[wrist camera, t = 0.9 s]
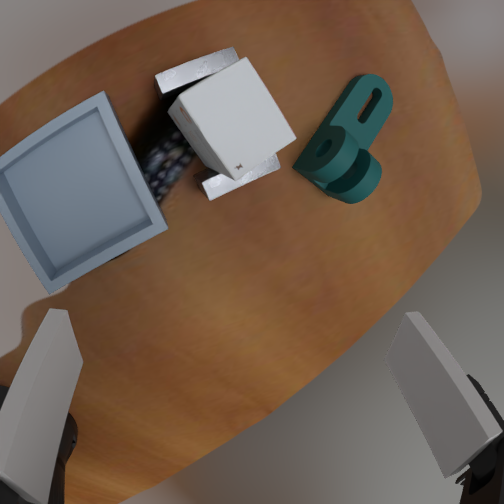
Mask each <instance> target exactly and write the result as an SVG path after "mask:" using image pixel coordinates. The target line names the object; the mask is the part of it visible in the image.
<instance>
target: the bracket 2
mask: <svg viewBox="0 0 504 504" xmlns="http://www.w3.org/2000/svg"><path fill="white" fill-rule="evenodd" d="M371 92H372V93H373V97H372V99H371V100H370V102H369V104H368V105H367V107H366V108H365V110H364V111H363V113H362V115H361V116H360V118H359V119H357V114H358V113H359V111H360V109H361V108H362V106H363V105H364V103H365V102H366V100H367V99H368V97H369V96H370V94H371ZM392 106H393V97H392V93H391V90H390V88H389V86H388V84H387V83H386V82H385V80H384V79H382V78H381V77H379V76H377V75H374V74H367V75H361V76H357V77H355V78H353V79H352V80H351V81H350V82H349V84H348V85H347V87H346V88H345V90H344V91H343V93H342V94H341V96H340V97H339V98H338V100H337V101H336V103H335V104H334V106H333V107H332V109H331V110H330V112H329V113H328V115H327V116H326V118H325V119H324V121H323V122H322V124H321V125H320V127H319V128H318V129H317V131H316V132H315V134H314V135H313V137H312V138H311V140H310V141H309V143H308V144H307V146H306V147H305V149H304V150H303V152H302V153H301V155H300V156H299V158H298V159H297V161H296V162H295V164H294V165H293V167H292V168H294V169H295V170H296V171H298V172H299V173H300V174H301V175H303V176H304V177H305V178H307V179H308V180H309V181H310V182H312V183H313V184H314V185H316V186H317V187H318V188H319V189H321V190H322V191H323V192H324V193H326V194H327V195H328V196H330V197H333V198H335V199H338V200H340V201H343V202H345V203H348V204H354V203H357V202H360V201H362V200H364V199H365V198H366V197H368V196H369V195H370V194H371V193H372V192H373V191H374V189H375V188H376V187H377V185H378V183H379V181H380V178H381V174H382V168H381V165H380V163H379V162H378V161H377V160H376V159H375V158H374V157H373V156H372V155H371V154H370V153H369V152H368V151H367V150H368V149H369V147H370V145H371V144H372V142H373V141H374V139H375V137H376V136H377V134H378V133H379V131H380V129H381V128H382V126H383V124H384V123H385V121H386V119H387V118H388V116H389V114H390V113H391V110H392Z"/></svg>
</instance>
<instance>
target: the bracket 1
mask: <svg viewBox="0 0 504 504" xmlns="http://www.w3.org/2000/svg"><path fill="white" fill-rule="evenodd" d="M238 60H239V59H238V57H237V54H236V52H235V49H234V47H230V48H227V49H224V50H221V51H218V52H215V53H212V54H209V55H206V56H203V57H200V58H198V59H195V60H192V61H190V62H187V63H184V64H182V65H179V66H177V67H174V68H172V69H169V70H167V71H164V72H162V73H160V74H157V75H155V79H154V87H155V89H156V92H157V94H158V96H159V98H160V101H161V100H163V99H165V98H167V97H170V96H172V95H174V94H177V93H179V92H181V91H184V90H186V89H189V88H190V87H192V86H194V85H195V84H197V83H199V82H200V81H202V80H204V79H206V78H207V77H209V76H211V75H213V74H214V73H216V72H218V71H220V70H221V69H223V68H225V67H227V66H229V65H231V64H233V63H234V62H236V61H238ZM279 168H281V166H280V164H279V161H278V158H277V155H276V153H275V154H273V155H272V156H270V157H269V158H267V159H266V160H264V161H263V162H261V163H260V164H259V165H257V166H256V167H255V168H253V169H252V170H250V171H249V172H248V173H246V174H245V175H244V176H242V177H241V178H240V179H238V180H237V181H234V180H232V179H231V178H229V177H227V176H225V175H223V174H221V173H219V172H217V171H215V170H213V169H211V168H207V169H205V170H203V171H201V172H199V173H197V174H195V175H194V178H195V180H196V182H197V184H198V187H199V189H200V191H201V192H202V193H203V194H204V195H205V196H206V197H207V198H208V199H209V200H212V199H215V198H217V197H219V196H221V195H223V194H225V193H227V192H229V191H231V190H233V189H236V188H238V187H240V186H242V185H244V184H246V183H248V182H251V181H253V180H255V179H257V178H259V177H262V176H264V175H266V174H268V173H270V172H273V171H275V170H277V169H279Z"/></svg>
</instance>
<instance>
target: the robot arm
mask: <svg viewBox="0 0 504 504" xmlns="http://www.w3.org/2000/svg"><path fill="white" fill-rule="evenodd" d="M384 361H385V363H386V364H387V366H388V368H389V370H390V372H391V374H392V375H393V377H394V379H395V381H396V383H397V385H398V387H399V388H400V390H401V392H402V394H403V396H404V398H405V399H406V401H407V403H408V405H409V407H410V409H411V411H412V413H413V415H414V417H415V419H416V421H417V422H418V424H419V427H420V428H421V430H422V432H423V434H424V436H425V438H426V440H427V442H428V444H429V446H430V448H431V450H432V453H433V455H434V457H435V459H436V461H437V463H438V465H439V467H440V469H441V471H442V473H443V476H444V478H447V477H449V476H451V475H454V474H456V473H458V472H459V471H461V470H462V469H463V468H464V467H465V466H466V465H468V464H469V466H470V468H469V469H468V470H467V471H465V472H464V473H463V474H462V475H461V476H460V477H458V478H457V480H456V482H455V483H456V484H458V483H459V482H460V481H462V480H463V479H464V478H465V480H464V481H463V482H462V483H461V484H460V485H463V486H464V487H463V492H462V496H461V500H460V504H504V420H503V419H502V417H501V416H500V414H499V413H498V411H497V410H496V408H495V406H494V405H493V403H492V402H491V401H489V398H488V396H487V394H485V393H484V392H485V391H484V390H483V389H482V387H481V386H480V384H479V383H478V382H477V381H476V380H475V379H474V378H473V377H471V376H470V375H469V374H468V375H466V374H465V373H464V371H463V370H462V369H461V367H460V366H459V364H458V363H457V362H456V360H455V359H454V357H453V356H452V355H451V353H450V352H449V351H448V349H447V348H446V346H445V345H444V344H443V342H442V341H441V340H440V338H439V337H438V336H437V334H436V333H435V332H434V330H433V329H432V328H431V327H430V325H429V324H428V323H427V321H426V320H425V319H424V318H423V316H422V315H421V314H420V312H407V313H405V314H404V317H403V319H402V321H401V323H400V326H399V328H398V330H397V332H396V334H395V337H394V339H393V341H392V343H391V345H390V347H389V350H388V352H387V354H386V356H385V358H384ZM82 365H83V360H82V357H81V354H80V351H79V348H78V345H77V342H76V339H75V335H74V332H73V329H72V325H71V322H70V319H69V315H68V311H67V310H61V309H51V308H50V309H49V311H48V312H47V314H46V316H45V318H44V320H43V321H42V323H41V325H40V327H39V329H38V331H37V333H36V335H35V336H34V338H33V340H32V342H31V344H30V346H29V348H28V350H27V352H26V354H25V356H24V358H23V360H22V362H21V364H20V367H19V369H18V371H17V373H16V375H15V377H14V380H13V382H12V384H11V386H10V388H9V387H5V386H1V385H0V504H64V487H65V465H66V463H67V461H68V459H69V457H70V455H71V453H72V451H73V449H74V447H75V445H76V443H77V434H78V429H77V425H76V422H75V421H74V419H73V417H72V416H71V415H70V414H69V413H68V410H69V407H70V403H71V400H72V397H73V393H74V390H75V387H76V383H77V380H78V377H79V374H80V371H81V368H82Z"/></svg>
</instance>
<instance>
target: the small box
mask: <svg viewBox="0 0 504 504" xmlns="http://www.w3.org/2000/svg"><path fill="white" fill-rule="evenodd" d="M168 114H169V115H170V116H171V118H172V119H173V121H174V122H175V124H176V125H177V127H178V128H179V130H180V131H181V132H182V134H183V135H184V137H185V138H186V139H187V141H188V142H189V144H190V145H191V147H192V148H193V149H194V151H195V152H196V154H197V155H198V156H199V158H200V159H201V161H202V162H203V163H204V165H205V166H206V167H209V168H211V169H213V170H215V171H217V172H219V173H221V174H223V175H225V176H227V177H229V178H231V179H232V180H234V181H237V180H238V179H240V178H241V177H242V176H244V175H245V174H246V173H248V172H249V171H250V170H252V169H253V168H255V167H256V166H257V165H259V164H260V163H261V162H263V161H264V160H266V159H267V158H269V157H270V156H272V155H273V154H275V153H276V152H277V151H279V150H280V149H282V148H283V147H285V146H286V145H288V144H289V143H291V142H292V141H294V140H295V139H297V138H296V135H295V134H294V132H293V130H292V128H291V127H290V125H289V123H288V122H287V120H286V118H285V117H284V115H283V113H282V112H281V110H280V108H279V107H278V105H277V103H276V102H275V100H274V98H273V97H272V95H271V94H270V92H269V90H268V89H267V87H266V85H265V84H264V82H263V81H262V79H261V78H260V76H259V75H258V73H257V72H256V70H255V68H254V67H253V65H252V64H251V62H250V61H249V59H248V58H247V57H244V58H242V59H240V60H238V61H236V62H234V63H233V64H231V65H229V66H227V67H225V68H223V69H221V70H220V71H218V72H216V73H214V74H213V75H211V76H209V77H207V78H206V79H204V80H202V81H200V82H199V83H197V84H195V85H194V86H192V87H190V88H189V89H187V90H186V91H184V92H182V93H181V94H179V96H178V97H177V99H176V100H175V102H174V103H173V104H172V106H171V107H170V108H169V110H168Z"/></svg>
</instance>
